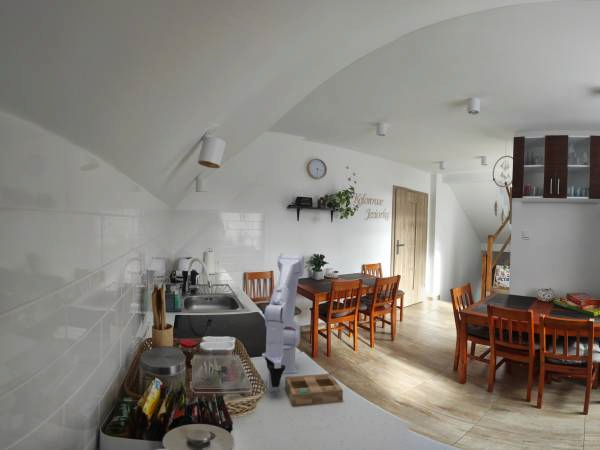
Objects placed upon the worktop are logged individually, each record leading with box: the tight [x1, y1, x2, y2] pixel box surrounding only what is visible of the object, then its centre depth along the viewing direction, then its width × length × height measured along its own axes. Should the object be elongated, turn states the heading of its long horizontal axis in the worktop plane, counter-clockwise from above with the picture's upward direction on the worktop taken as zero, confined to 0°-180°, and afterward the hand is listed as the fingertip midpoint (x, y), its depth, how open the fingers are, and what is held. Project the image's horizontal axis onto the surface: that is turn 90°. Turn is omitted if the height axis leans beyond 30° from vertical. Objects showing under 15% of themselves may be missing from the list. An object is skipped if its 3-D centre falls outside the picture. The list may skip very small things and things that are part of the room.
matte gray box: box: [266, 369, 281, 393], centre depth 108 cm, size 4×4×7 cm
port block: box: [284, 373, 344, 407], centre depth 105 cm, size 12×16×4 cm
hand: (273, 381), depth 108 cm, fingers open, 7 cm apart
